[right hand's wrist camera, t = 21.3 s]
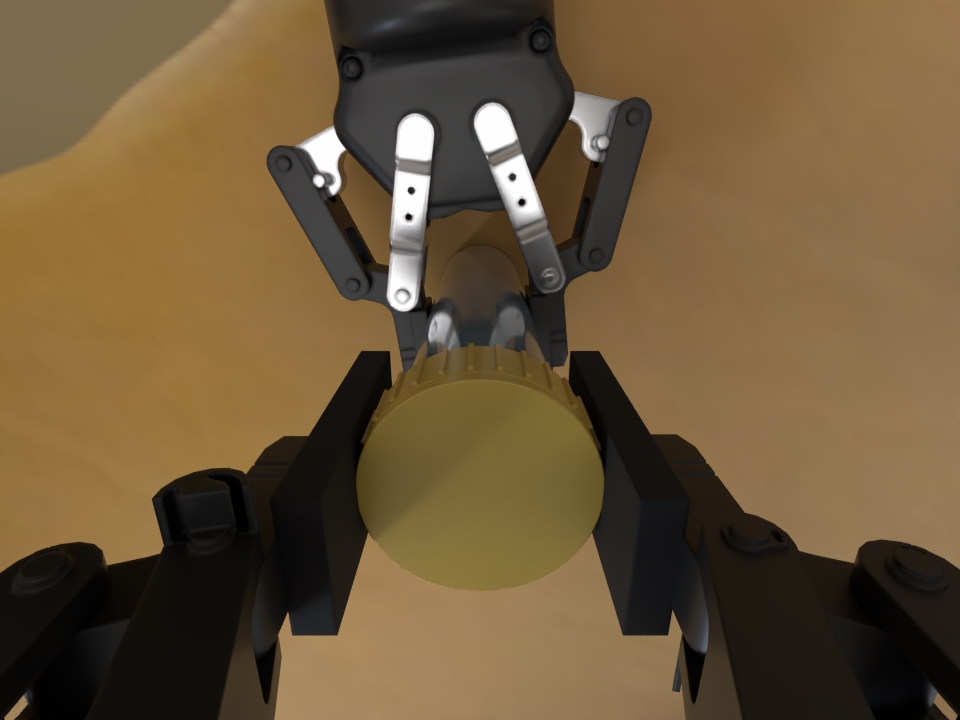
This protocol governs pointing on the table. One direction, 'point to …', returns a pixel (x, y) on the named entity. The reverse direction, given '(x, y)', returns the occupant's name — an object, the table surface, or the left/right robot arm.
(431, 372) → the lid
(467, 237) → the table surface
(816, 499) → the table surface
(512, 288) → the bottle
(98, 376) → the table surface
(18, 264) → the table surface
